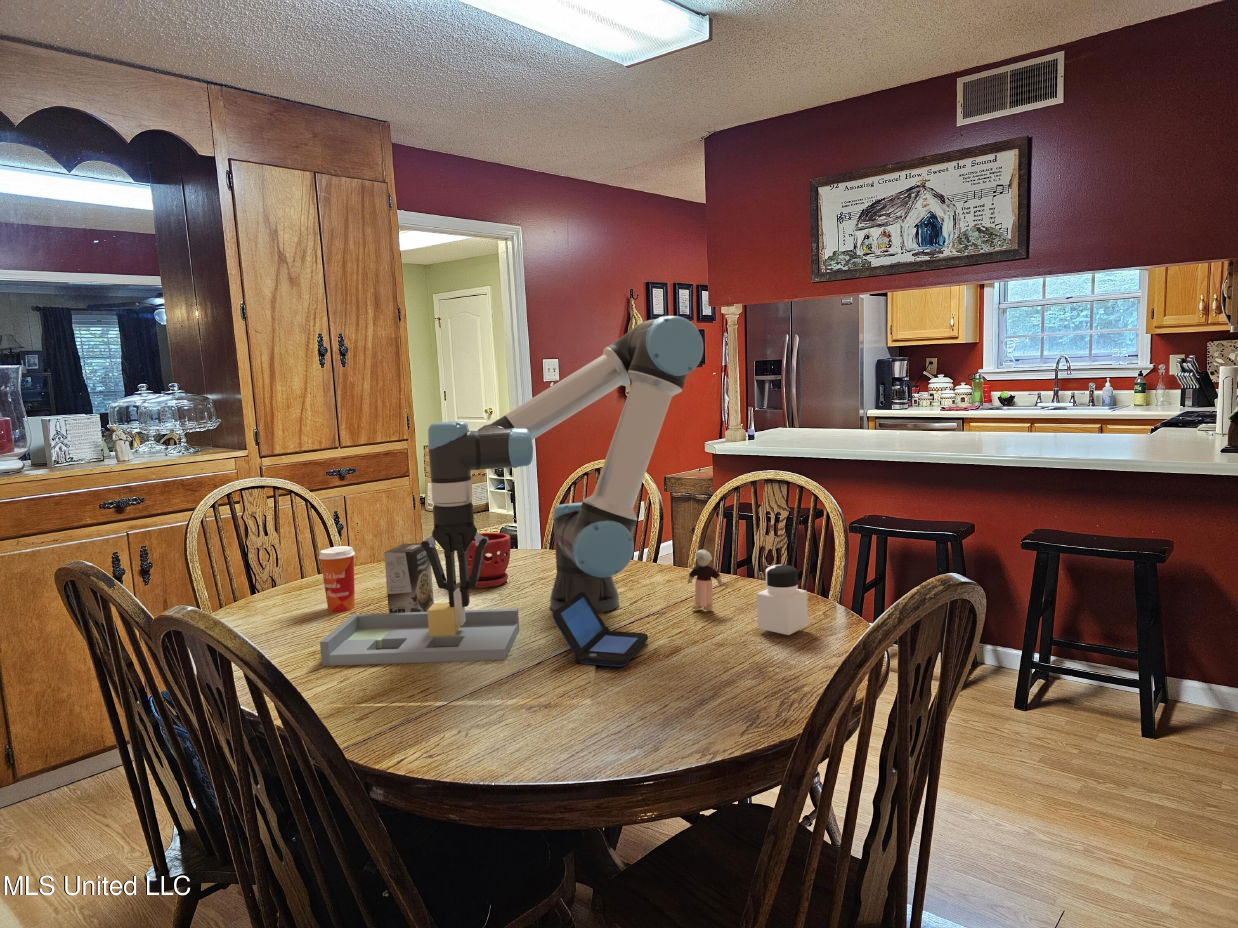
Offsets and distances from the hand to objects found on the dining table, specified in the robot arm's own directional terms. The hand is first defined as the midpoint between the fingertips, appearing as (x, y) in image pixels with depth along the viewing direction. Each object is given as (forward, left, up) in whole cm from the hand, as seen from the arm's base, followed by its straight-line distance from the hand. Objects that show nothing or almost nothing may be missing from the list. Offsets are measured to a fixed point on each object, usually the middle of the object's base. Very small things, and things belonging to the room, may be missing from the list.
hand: (460, 622), depth 155 cm
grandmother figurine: (-49, -16, -4) cm, 51 cm away
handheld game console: (-28, +8, -4) cm, 29 cm away
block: (+3, 0, -2) cm, 3 cm away
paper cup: (+33, -24, -4) cm, 40 cm away
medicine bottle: (-62, -1, -4) cm, 62 cm away
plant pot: (+4, -43, -4) cm, 43 cm away
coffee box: (+14, -14, -4) cm, 20 cm away
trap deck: (+6, +4, -4) cm, 8 cm away
